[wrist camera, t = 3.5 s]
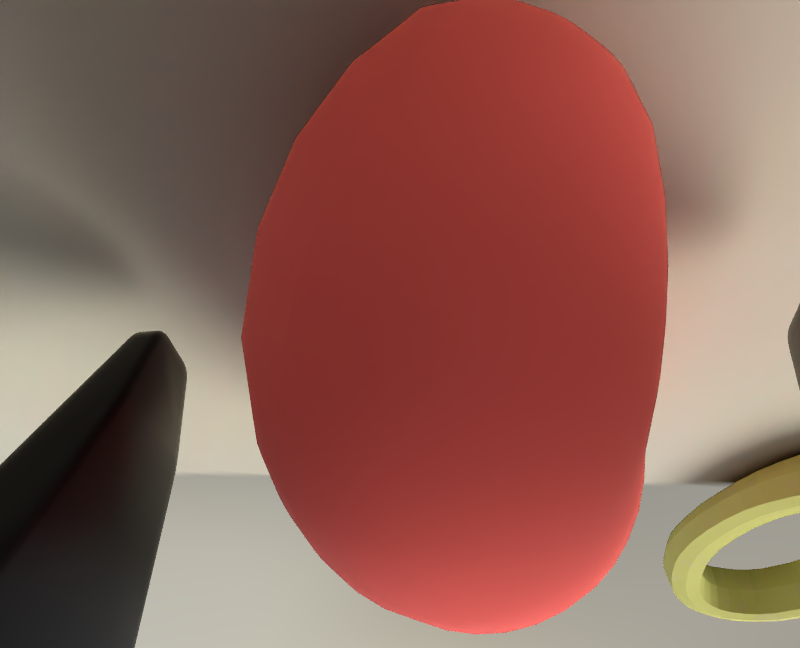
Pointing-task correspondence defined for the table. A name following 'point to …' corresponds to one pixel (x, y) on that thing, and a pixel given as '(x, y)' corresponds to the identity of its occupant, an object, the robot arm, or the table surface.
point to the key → (719, 525)
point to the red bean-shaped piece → (464, 317)
